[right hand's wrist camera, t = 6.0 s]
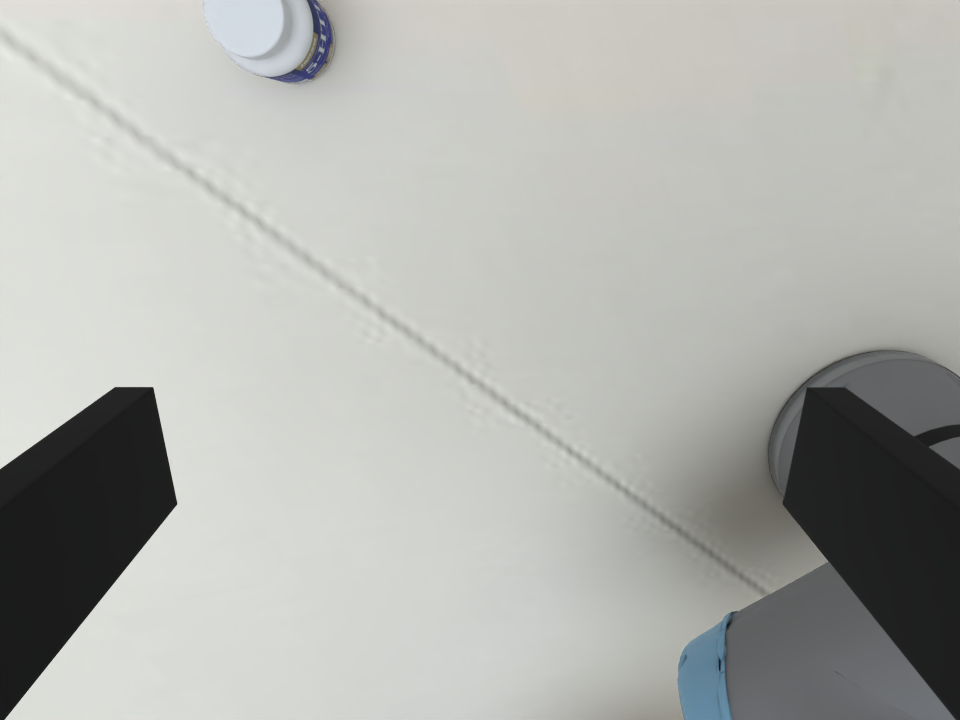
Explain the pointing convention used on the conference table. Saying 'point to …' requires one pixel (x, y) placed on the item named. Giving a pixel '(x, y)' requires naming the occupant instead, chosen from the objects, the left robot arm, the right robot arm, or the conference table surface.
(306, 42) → the pill bottle
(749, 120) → the conference table surface
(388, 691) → the conference table surface
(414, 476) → the conference table surface
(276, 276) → the conference table surface
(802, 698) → the right robot arm
